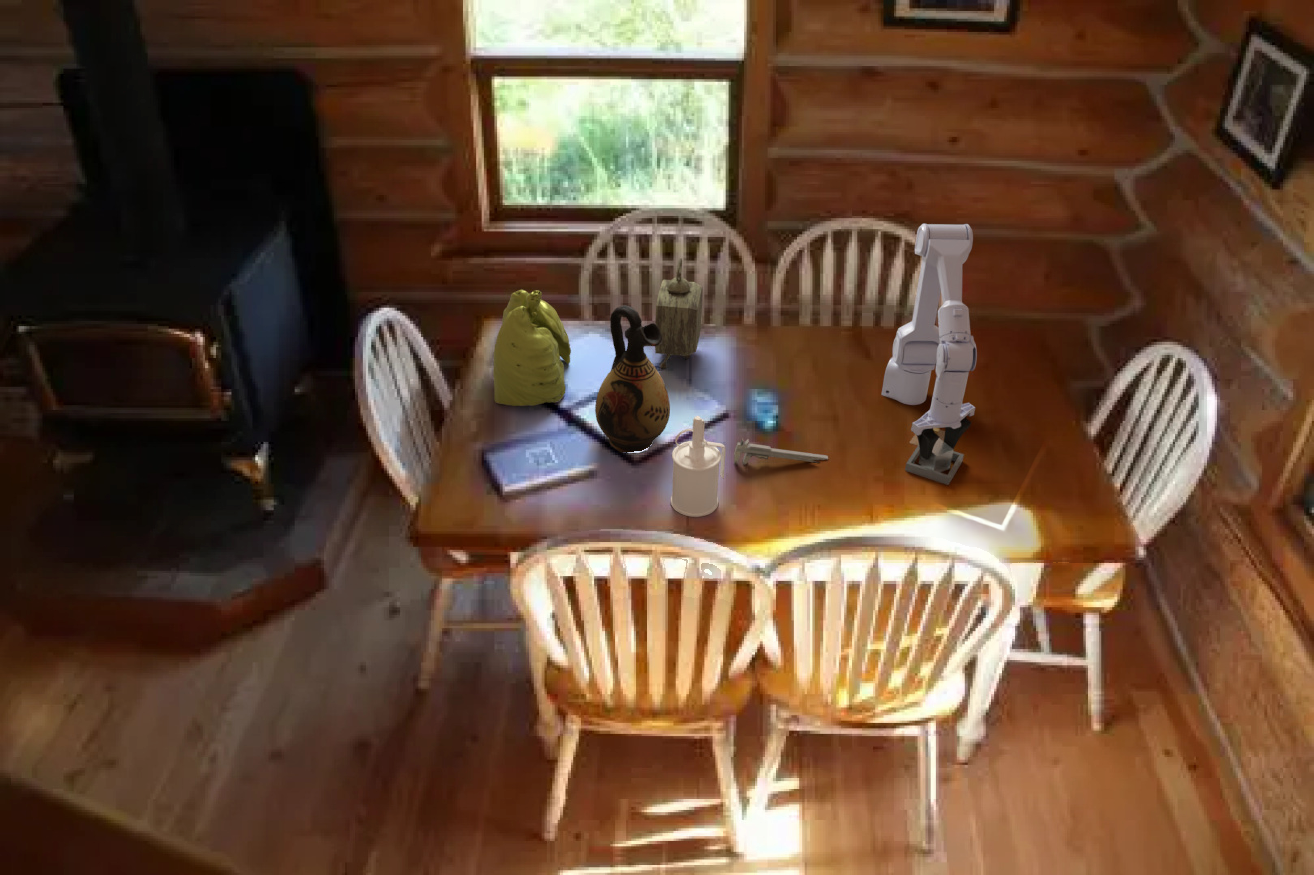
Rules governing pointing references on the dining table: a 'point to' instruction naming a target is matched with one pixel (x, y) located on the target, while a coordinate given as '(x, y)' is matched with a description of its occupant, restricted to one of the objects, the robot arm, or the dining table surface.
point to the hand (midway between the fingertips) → (936, 452)
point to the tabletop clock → (678, 316)
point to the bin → (931, 473)
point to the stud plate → (936, 431)
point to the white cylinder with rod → (696, 473)
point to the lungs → (530, 352)
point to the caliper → (771, 453)
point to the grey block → (938, 457)
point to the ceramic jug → (632, 387)
